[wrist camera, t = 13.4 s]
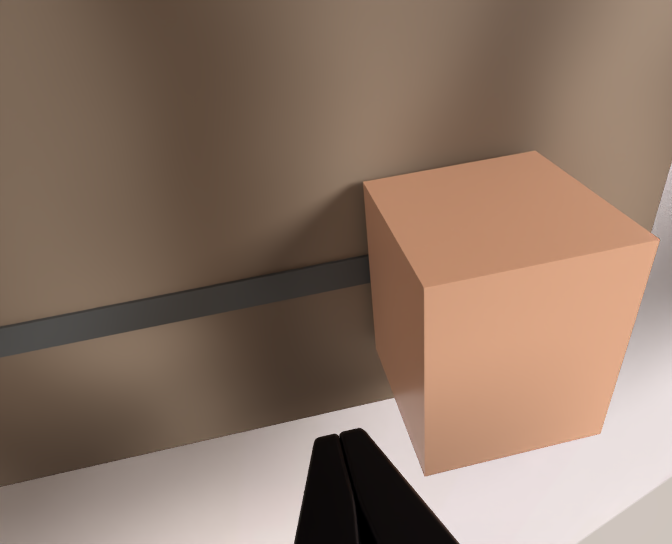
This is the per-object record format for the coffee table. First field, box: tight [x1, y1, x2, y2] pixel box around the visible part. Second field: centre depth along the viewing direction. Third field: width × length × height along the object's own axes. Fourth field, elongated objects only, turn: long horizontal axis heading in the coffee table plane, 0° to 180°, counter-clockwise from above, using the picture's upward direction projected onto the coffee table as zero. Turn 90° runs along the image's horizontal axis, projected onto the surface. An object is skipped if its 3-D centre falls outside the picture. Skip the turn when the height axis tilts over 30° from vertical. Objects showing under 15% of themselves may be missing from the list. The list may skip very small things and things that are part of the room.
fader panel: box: [0, 0, 672, 487], centre depth 11 cm, size 21×20×2 cm
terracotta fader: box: [363, 151, 660, 476], centre depth 11 cm, size 4×5×4 cm
